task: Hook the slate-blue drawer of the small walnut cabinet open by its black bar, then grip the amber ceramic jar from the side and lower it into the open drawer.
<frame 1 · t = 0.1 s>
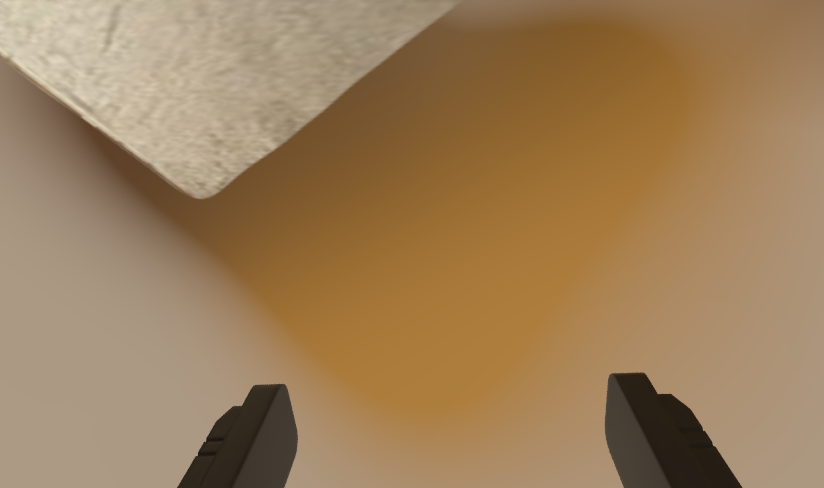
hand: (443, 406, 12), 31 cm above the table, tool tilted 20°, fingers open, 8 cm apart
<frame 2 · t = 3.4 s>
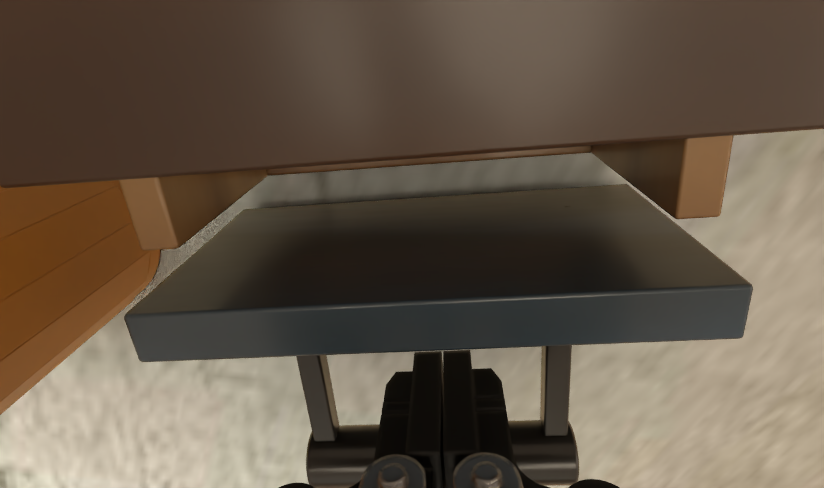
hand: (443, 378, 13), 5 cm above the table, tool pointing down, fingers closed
drawer: (415, 100, 11), point 4 cm above the table, slide at 3.0 cm
jar: (77, 230, 18), on the table
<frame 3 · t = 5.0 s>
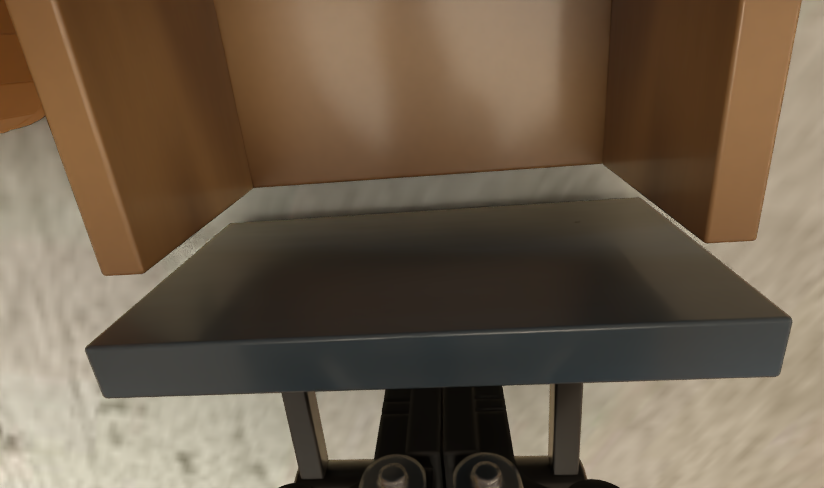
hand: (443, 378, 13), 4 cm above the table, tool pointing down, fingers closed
drawer: (411, 108, 10), point 4 cm above the table, slide at 10.0 cm, touching gripper
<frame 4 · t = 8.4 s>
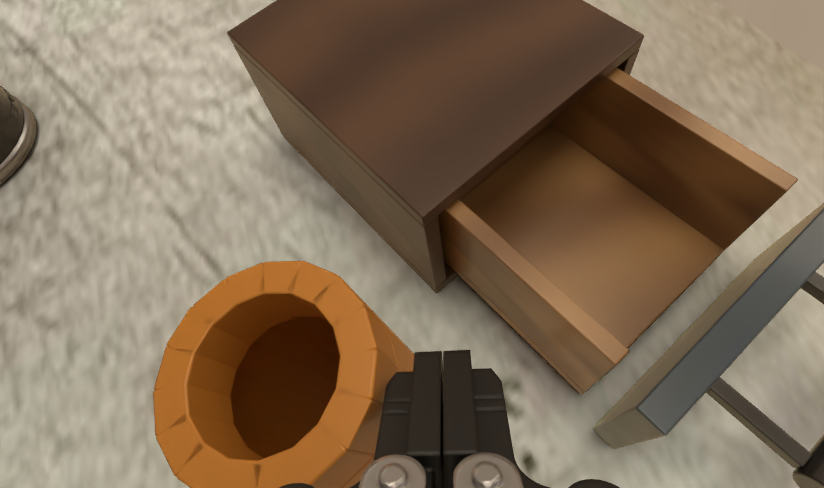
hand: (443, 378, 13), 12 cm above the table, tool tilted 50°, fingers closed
drawer: (640, 263, 22), point 4 cm above the table, slide at 10.0 cm
jar: (392, 425, 24), on the table, tilted 7°
cabinet: (433, 142, 32), on the table
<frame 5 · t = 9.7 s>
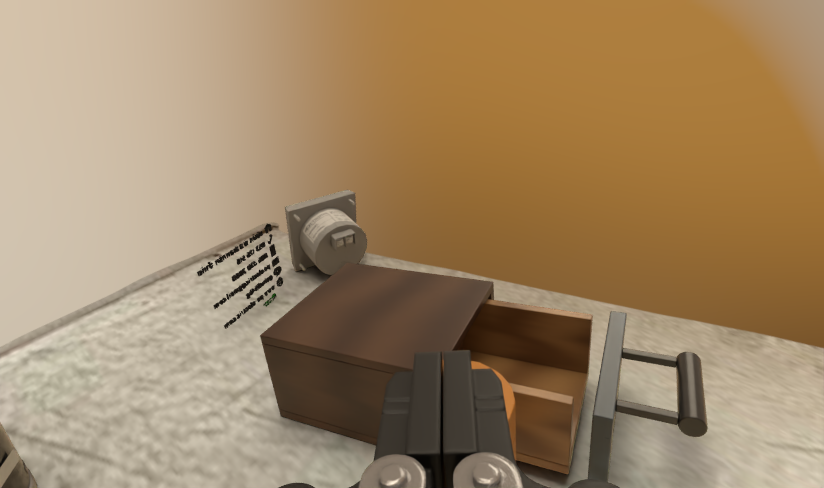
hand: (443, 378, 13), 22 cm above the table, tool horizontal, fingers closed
drawer: (553, 382, 38), point 4 cm above the table, slide at 10.0 cm
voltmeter: (299, 290, 65), on the table
cabinet: (393, 386, 46), on the table
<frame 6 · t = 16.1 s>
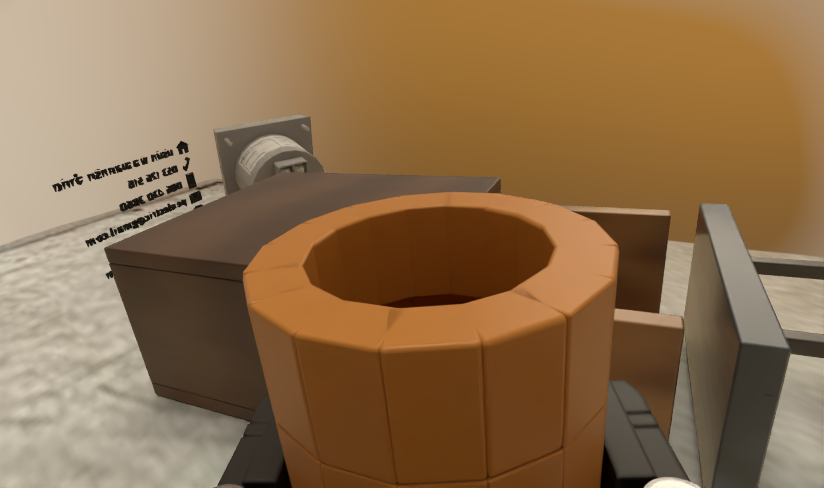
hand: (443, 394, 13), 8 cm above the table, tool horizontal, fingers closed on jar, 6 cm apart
drawer: (613, 317, 22), point 4 cm above the table, slide at 10.0 cm
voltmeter: (232, 240, 48), on the table
cabinet: (344, 347, 29), on the table
when the fingers open (13 cm above the table, at t = 44.9 s): jar drops 3 cm, resting on drawer.
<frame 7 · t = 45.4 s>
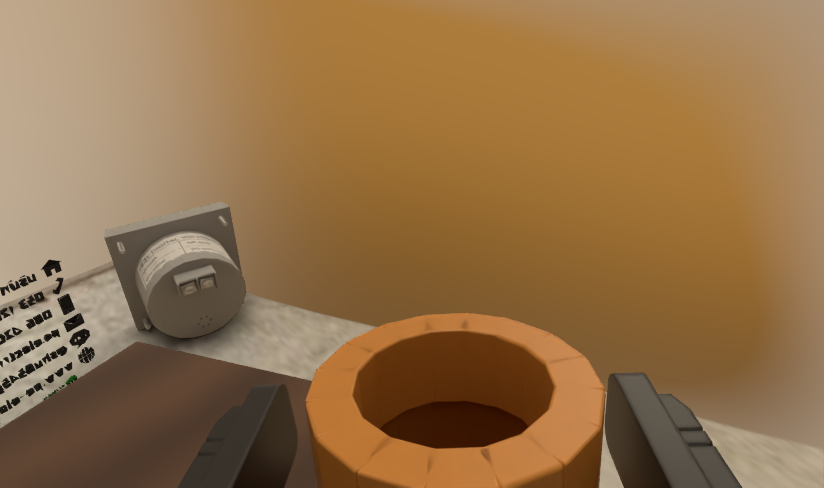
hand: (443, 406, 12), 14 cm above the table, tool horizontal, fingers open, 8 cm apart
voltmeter: (127, 366, 40), on the table
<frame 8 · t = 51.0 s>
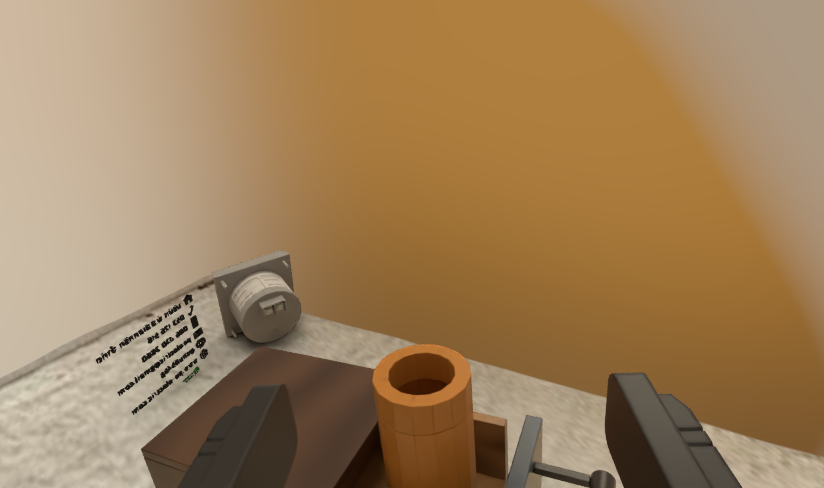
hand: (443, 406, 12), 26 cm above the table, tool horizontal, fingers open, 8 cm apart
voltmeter: (227, 361, 61), on the table
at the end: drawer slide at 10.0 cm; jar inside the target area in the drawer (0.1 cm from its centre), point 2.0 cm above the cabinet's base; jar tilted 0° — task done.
